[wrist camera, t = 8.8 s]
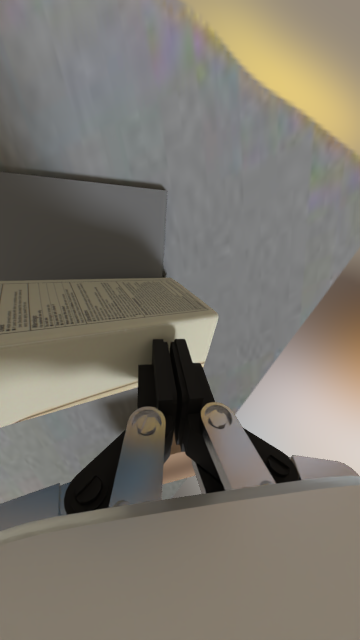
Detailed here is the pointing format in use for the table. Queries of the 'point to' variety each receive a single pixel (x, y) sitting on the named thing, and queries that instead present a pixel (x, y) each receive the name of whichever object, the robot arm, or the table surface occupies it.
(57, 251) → the mat
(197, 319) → the skincare box
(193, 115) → the table surface
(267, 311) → the table surface
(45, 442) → the table surface
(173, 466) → the walnut block
